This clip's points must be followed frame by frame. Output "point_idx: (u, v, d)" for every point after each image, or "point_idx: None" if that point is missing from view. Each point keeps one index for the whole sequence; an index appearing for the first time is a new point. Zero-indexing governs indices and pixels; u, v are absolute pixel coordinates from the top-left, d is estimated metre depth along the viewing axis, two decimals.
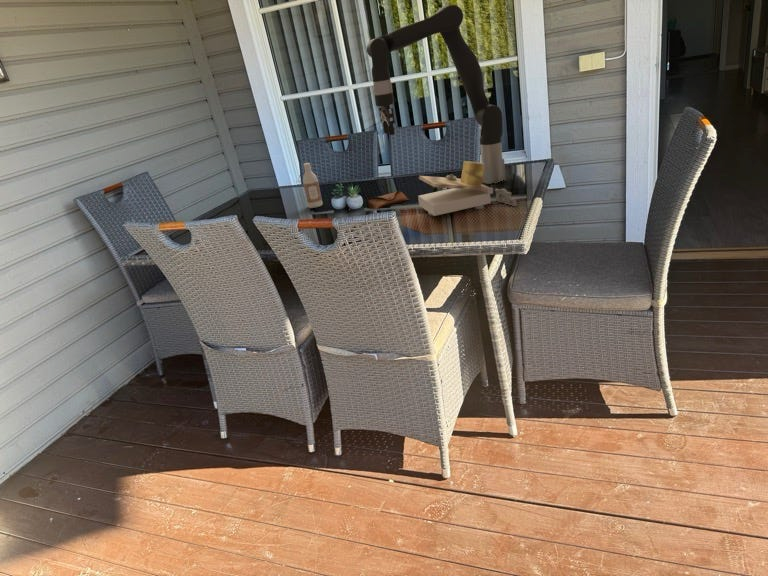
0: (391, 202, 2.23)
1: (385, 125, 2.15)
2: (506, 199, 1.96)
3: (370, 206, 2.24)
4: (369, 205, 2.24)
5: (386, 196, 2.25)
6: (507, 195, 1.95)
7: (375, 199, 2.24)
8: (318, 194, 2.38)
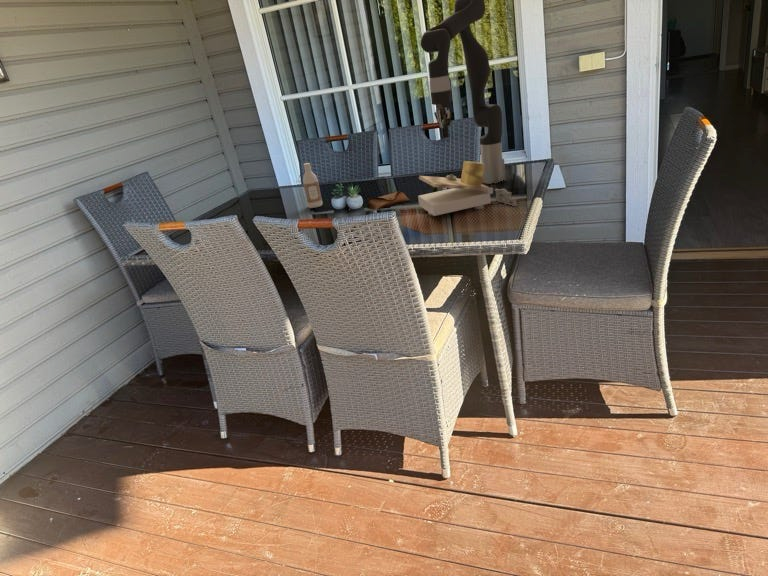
0: (391, 202, 2.22)
1: None
2: (506, 199, 1.96)
3: (371, 206, 2.23)
4: (370, 205, 2.23)
5: (387, 196, 2.24)
6: (507, 195, 1.95)
7: (376, 199, 2.23)
8: (318, 194, 2.38)
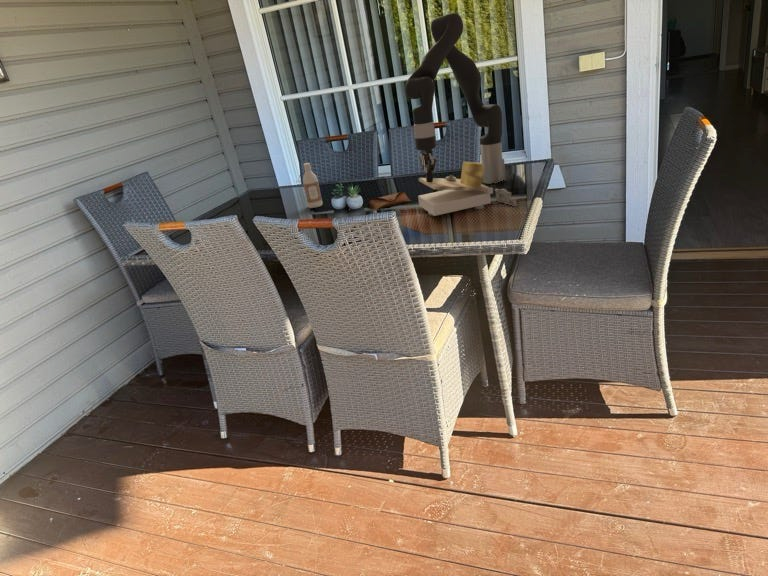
0: (391, 203, 2.21)
1: None
2: (506, 199, 1.96)
3: (371, 207, 2.23)
4: (370, 205, 2.23)
5: (387, 197, 2.23)
6: (507, 195, 1.95)
7: (376, 200, 2.23)
8: (318, 194, 2.38)
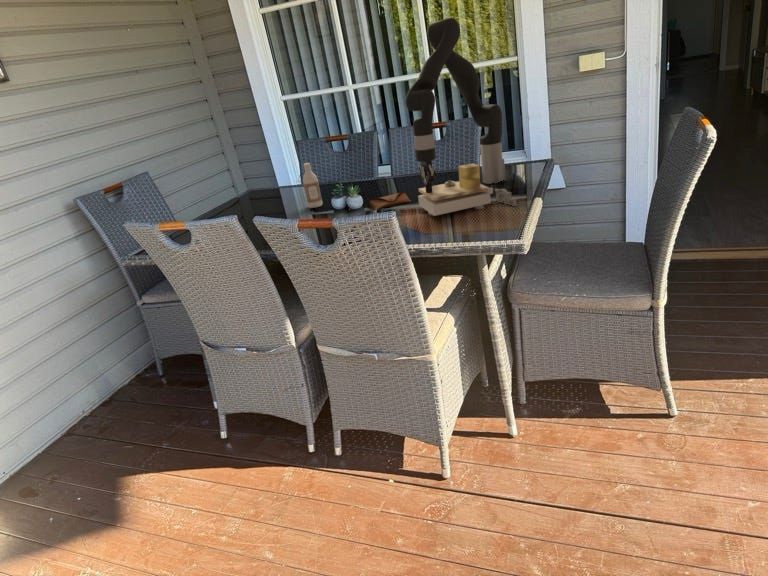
0: (392, 203, 2.20)
1: None
2: (506, 199, 1.96)
3: (371, 207, 2.22)
4: (370, 206, 2.23)
5: (388, 197, 2.22)
6: (507, 195, 1.95)
7: (376, 200, 2.22)
8: (318, 194, 2.38)
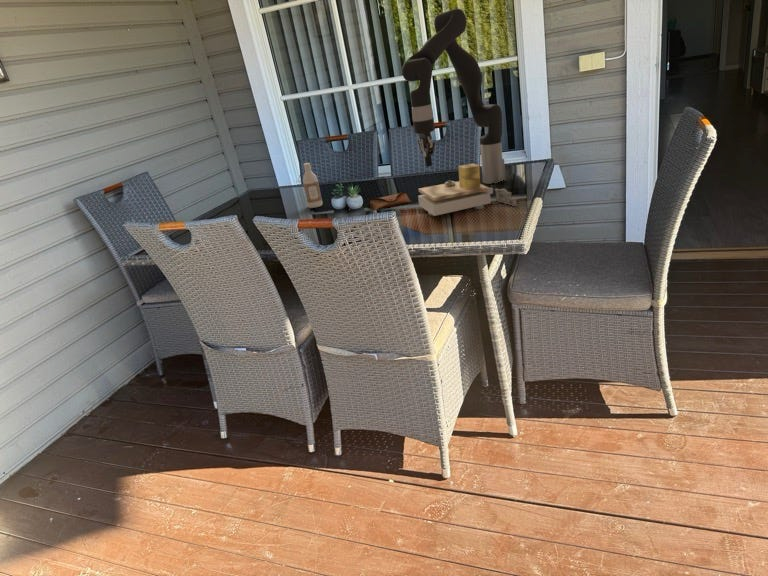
0: (391, 204, 2.20)
1: None
2: (506, 199, 1.96)
3: (371, 207, 2.22)
4: (370, 206, 2.23)
5: (388, 197, 2.22)
6: (507, 195, 1.95)
7: (376, 200, 2.22)
8: (318, 194, 2.38)
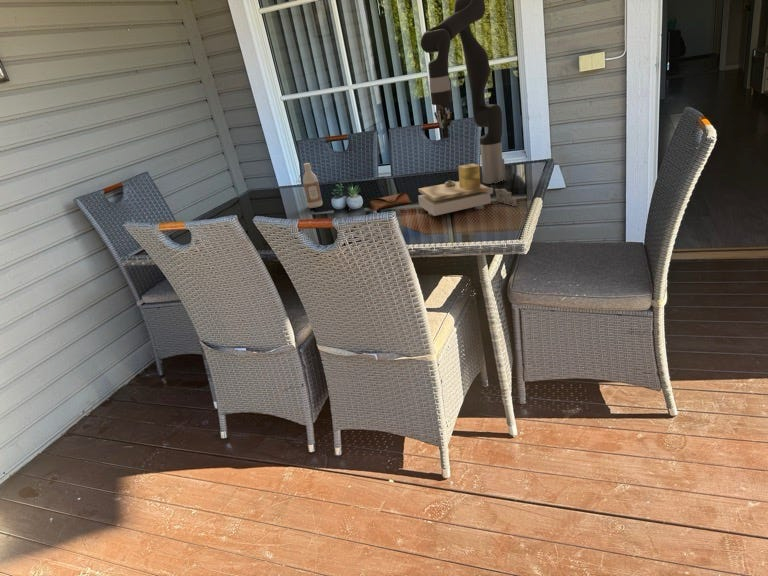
0: (391, 204, 2.19)
1: None
2: (506, 199, 1.96)
3: (371, 207, 2.22)
4: (370, 206, 2.23)
5: (388, 198, 2.22)
6: (507, 195, 1.95)
7: (377, 200, 2.22)
8: (318, 194, 2.38)
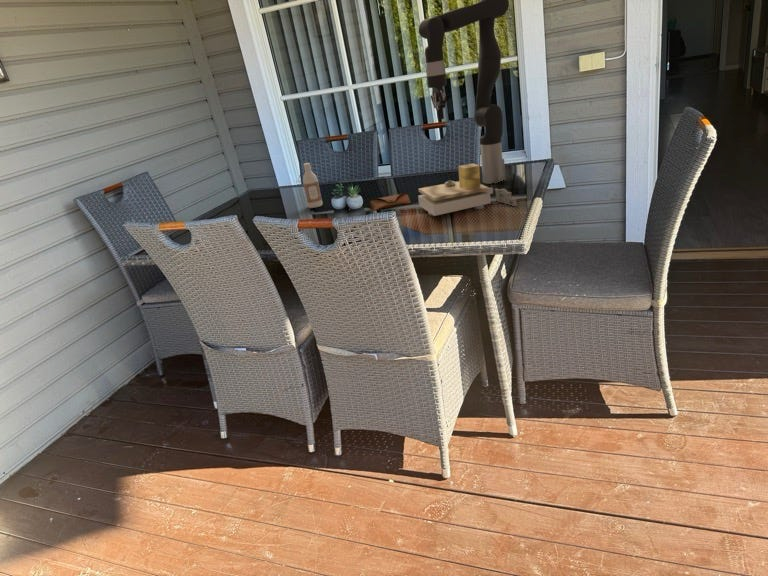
0: (391, 204, 2.19)
1: None
2: (506, 199, 1.96)
3: (371, 207, 2.22)
4: (370, 206, 2.23)
5: (388, 198, 2.21)
6: (507, 195, 1.95)
7: (377, 200, 2.22)
8: (318, 194, 2.38)
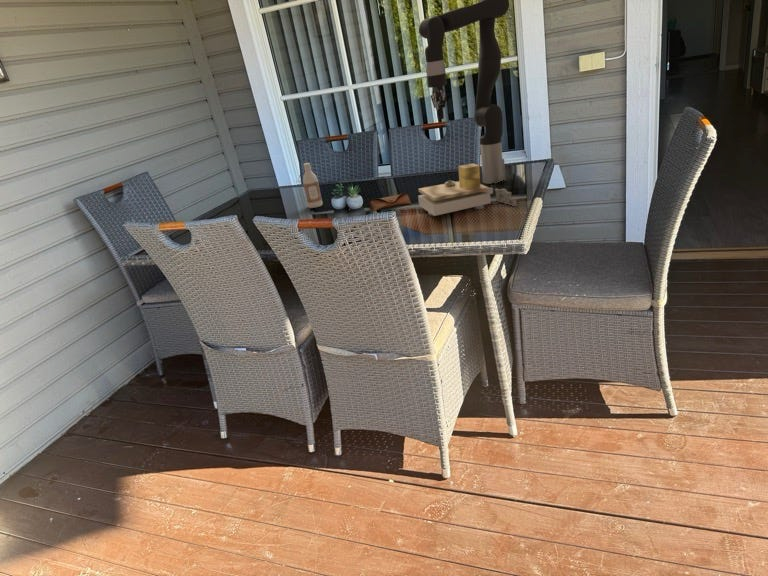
0: (391, 205, 2.18)
1: None
2: (506, 199, 1.96)
3: (371, 207, 2.22)
4: (370, 206, 2.22)
5: (388, 198, 2.21)
6: (507, 195, 1.95)
7: (377, 200, 2.21)
8: (318, 194, 2.38)
